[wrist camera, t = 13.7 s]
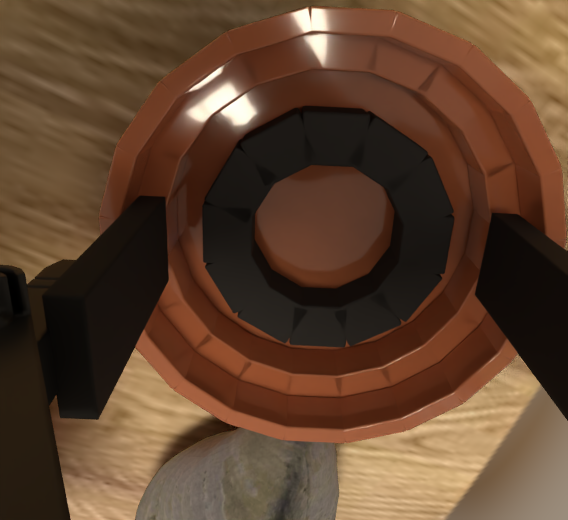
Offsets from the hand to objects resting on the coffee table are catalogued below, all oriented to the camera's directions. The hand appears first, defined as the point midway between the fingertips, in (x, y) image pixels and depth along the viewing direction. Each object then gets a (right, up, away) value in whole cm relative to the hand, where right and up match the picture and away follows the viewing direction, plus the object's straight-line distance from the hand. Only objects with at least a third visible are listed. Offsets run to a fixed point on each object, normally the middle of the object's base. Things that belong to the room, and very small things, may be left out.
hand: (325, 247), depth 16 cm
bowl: (0, +1, +3) cm, 3 cm away
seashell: (-3, -10, +8) cm, 13 cm away
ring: (0, +1, +2) cm, 3 cm away
